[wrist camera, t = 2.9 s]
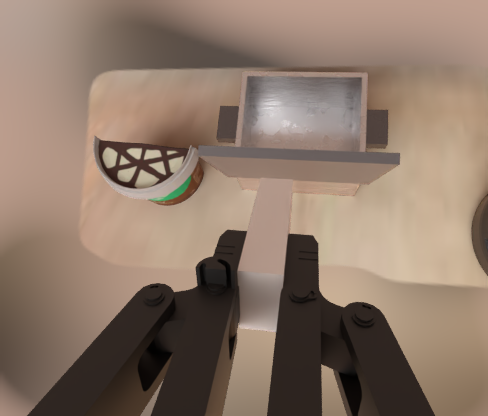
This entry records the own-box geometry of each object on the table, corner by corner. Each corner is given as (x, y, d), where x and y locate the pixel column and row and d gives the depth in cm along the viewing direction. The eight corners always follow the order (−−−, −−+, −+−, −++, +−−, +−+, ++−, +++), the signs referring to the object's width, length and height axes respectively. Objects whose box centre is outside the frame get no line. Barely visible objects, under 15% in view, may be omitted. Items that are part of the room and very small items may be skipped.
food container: (117, 208, 52) (76, 187, 42) (127, 164, 53) (89, 135, 43) (206, 219, 50) (185, 201, 40) (214, 174, 51) (195, 145, 41)
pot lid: (400, 153, 27) (399, 164, 27) (368, 176, 40) (368, 184, 40) (198, 145, 29) (197, 155, 29) (228, 169, 42) (228, 177, 42)
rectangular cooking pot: (375, 107, 50) (390, 72, 43) (373, 196, 48) (388, 177, 40) (233, 103, 53) (222, 70, 45) (224, 188, 51) (211, 168, 43)
